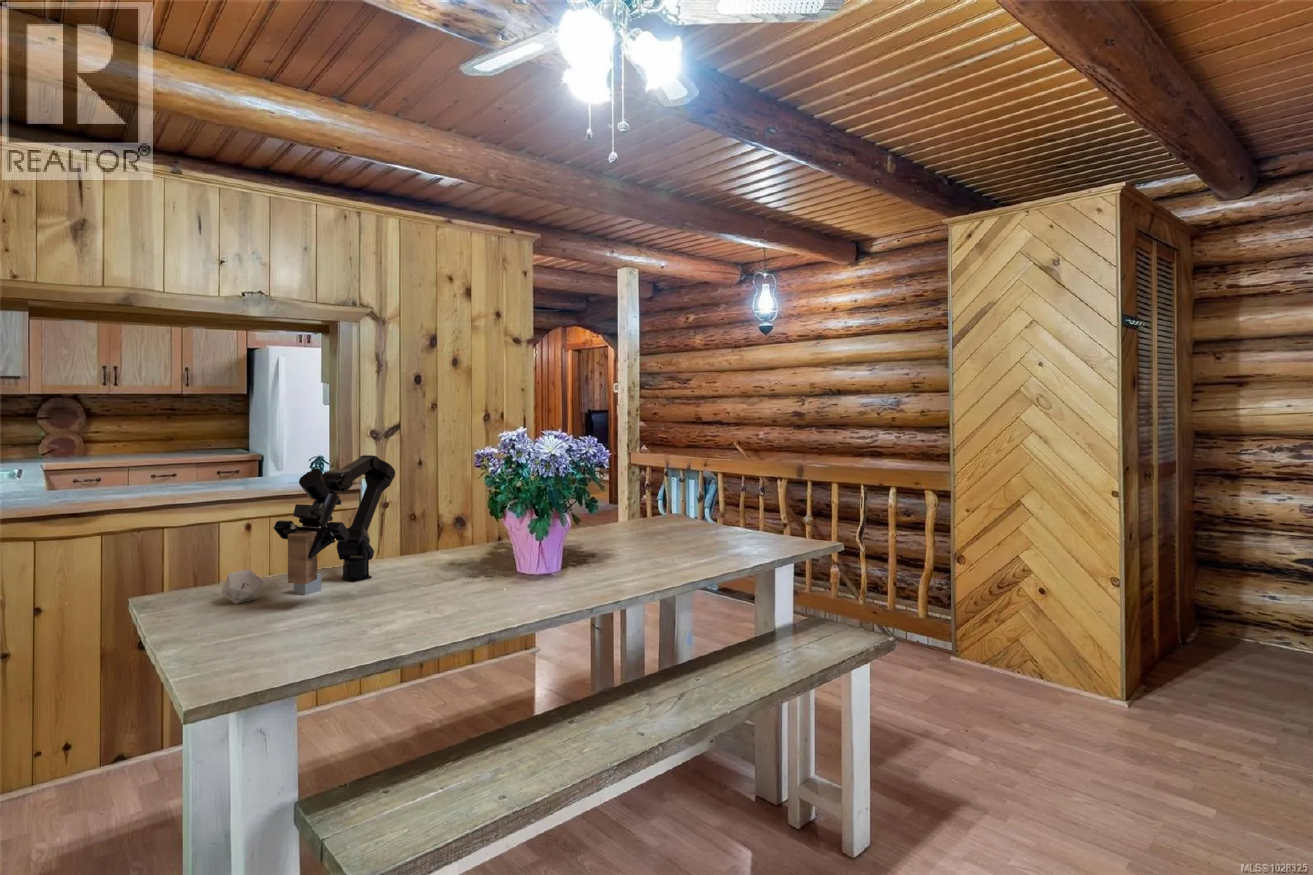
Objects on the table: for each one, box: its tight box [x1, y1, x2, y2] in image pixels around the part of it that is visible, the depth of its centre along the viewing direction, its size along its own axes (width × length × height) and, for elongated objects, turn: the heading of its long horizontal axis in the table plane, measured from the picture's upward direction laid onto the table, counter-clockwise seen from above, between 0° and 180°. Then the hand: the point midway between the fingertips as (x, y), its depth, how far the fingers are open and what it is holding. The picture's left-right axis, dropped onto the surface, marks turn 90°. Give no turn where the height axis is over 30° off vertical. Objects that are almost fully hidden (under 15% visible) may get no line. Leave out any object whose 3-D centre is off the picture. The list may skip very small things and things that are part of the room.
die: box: [221, 568, 264, 605], centre depth 182 cm, size 8×9×10 cm
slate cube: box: [293, 572, 322, 596], centre depth 191 cm, size 5×5×5 cm
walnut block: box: [287, 531, 318, 585], centre depth 177 cm, size 5×5×13 cm
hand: (299, 557), depth 176 cm, fingers closed on walnut block, 5 cm apart
